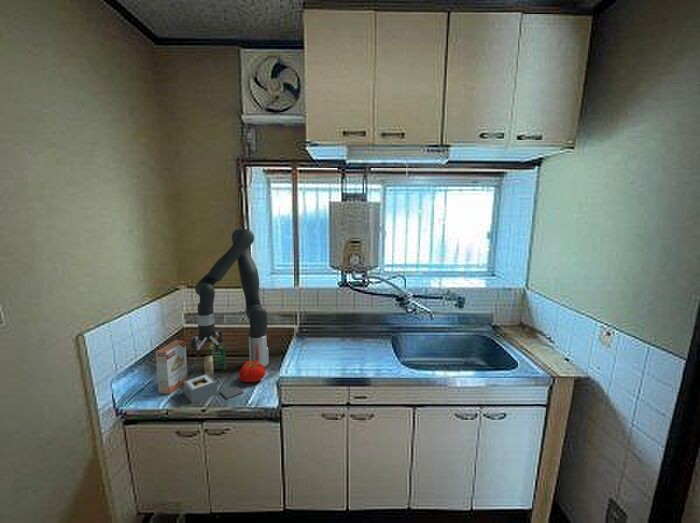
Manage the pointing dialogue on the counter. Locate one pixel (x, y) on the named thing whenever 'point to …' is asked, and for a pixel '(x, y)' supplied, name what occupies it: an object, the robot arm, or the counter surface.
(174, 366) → the cracker box
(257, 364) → the tomato
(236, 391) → the mat
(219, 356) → the coffee box
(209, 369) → the beige ridged cylinder
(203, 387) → the box
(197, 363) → the counter surface
